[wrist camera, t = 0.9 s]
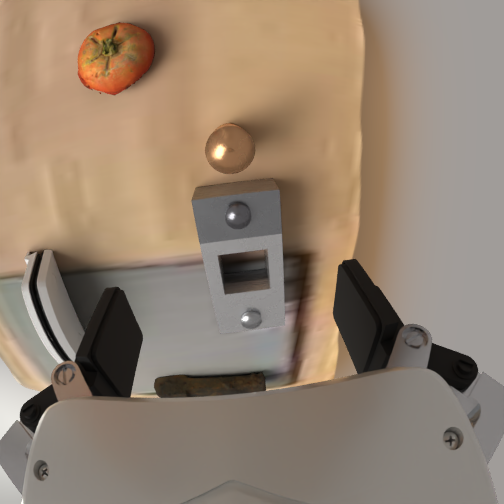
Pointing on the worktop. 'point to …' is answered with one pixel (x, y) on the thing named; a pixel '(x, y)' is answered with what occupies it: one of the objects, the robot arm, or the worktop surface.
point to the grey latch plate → (242, 240)
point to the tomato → (115, 57)
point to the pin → (230, 149)
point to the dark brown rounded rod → (208, 385)
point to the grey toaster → (51, 307)
